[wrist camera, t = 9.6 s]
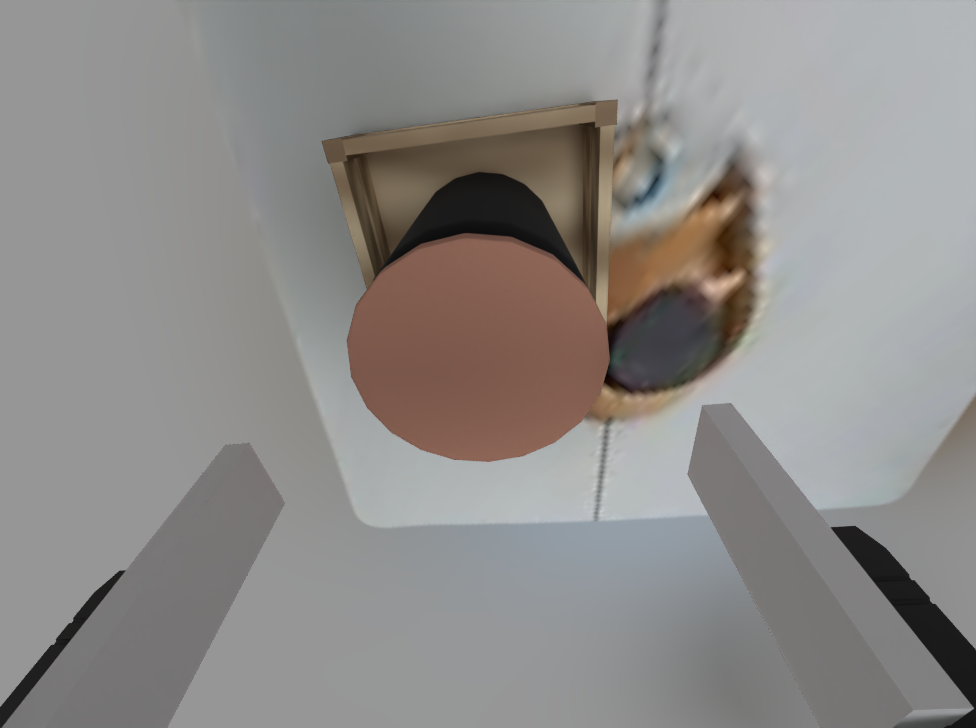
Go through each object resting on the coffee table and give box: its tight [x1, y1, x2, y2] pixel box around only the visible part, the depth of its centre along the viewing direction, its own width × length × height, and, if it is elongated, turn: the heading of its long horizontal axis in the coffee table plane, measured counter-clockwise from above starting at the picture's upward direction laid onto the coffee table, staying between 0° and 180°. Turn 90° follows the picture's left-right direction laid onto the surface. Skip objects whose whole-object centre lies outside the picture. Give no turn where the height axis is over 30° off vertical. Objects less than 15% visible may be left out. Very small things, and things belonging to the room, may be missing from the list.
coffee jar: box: [347, 172, 610, 462], centre depth 24 cm, size 11×11×18 cm
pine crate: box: [322, 100, 618, 322], centre depth 30 cm, size 17×17×6 cm
